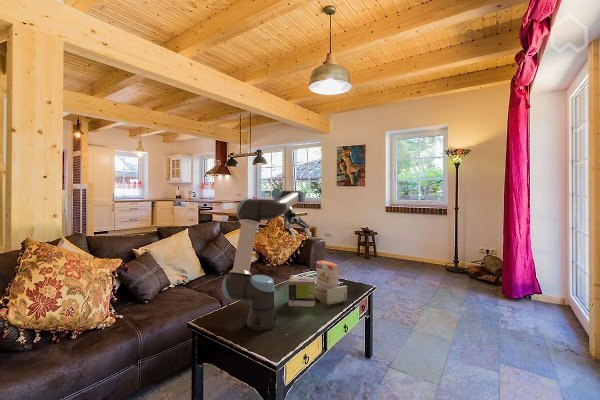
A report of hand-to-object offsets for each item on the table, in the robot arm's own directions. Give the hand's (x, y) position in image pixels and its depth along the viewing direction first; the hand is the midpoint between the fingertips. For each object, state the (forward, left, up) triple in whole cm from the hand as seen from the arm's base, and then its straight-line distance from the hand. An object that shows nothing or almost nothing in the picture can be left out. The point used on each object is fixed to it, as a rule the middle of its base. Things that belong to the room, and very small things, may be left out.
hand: (302, 237), depth 193 cm
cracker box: (+7, -18, -35) cm, 40 cm away
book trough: (+9, -20, -36) cm, 42 cm away
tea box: (-10, -19, -36) cm, 42 cm away
